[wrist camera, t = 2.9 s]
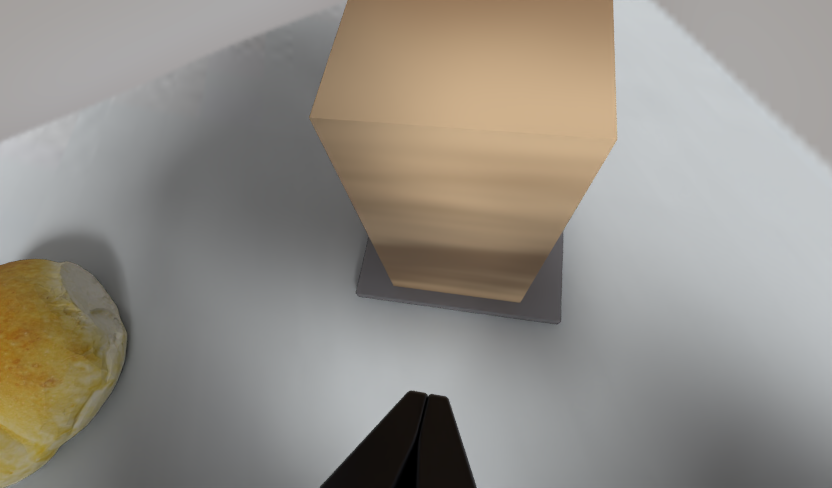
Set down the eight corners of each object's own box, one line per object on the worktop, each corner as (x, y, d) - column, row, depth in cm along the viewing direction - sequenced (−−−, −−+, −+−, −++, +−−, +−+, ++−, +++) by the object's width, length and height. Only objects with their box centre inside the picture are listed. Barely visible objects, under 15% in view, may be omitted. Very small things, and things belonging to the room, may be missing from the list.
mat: (557, 324, 15) (560, 321, 15) (358, 296, 16) (355, 293, 16) (566, 48, 21) (568, 40, 20) (415, 42, 22) (414, 34, 21)
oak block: (520, 302, 15) (616, 139, 6) (393, 285, 16) (308, 117, 7) (526, 211, 17) (611, -32, 8) (410, 199, 17) (359, -35, 8)
